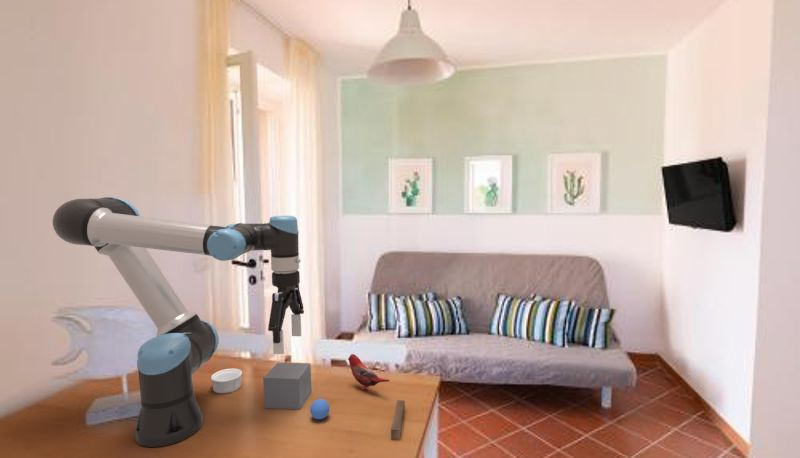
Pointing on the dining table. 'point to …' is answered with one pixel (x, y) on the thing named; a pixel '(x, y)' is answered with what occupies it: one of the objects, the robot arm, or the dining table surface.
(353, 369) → the decorative bird figurine
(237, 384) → the ramekin
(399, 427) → the strip
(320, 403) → the ball
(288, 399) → the gray storage cube
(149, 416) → the robot arm
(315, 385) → the dining table surface
